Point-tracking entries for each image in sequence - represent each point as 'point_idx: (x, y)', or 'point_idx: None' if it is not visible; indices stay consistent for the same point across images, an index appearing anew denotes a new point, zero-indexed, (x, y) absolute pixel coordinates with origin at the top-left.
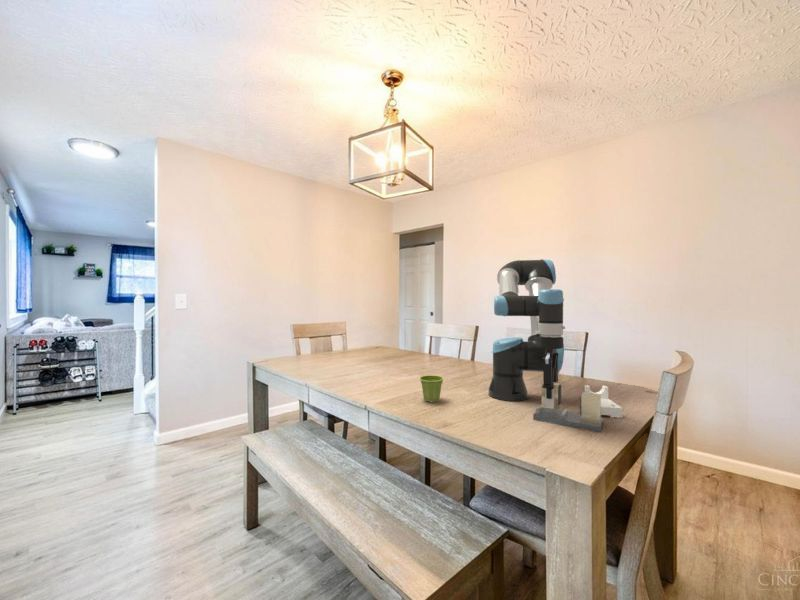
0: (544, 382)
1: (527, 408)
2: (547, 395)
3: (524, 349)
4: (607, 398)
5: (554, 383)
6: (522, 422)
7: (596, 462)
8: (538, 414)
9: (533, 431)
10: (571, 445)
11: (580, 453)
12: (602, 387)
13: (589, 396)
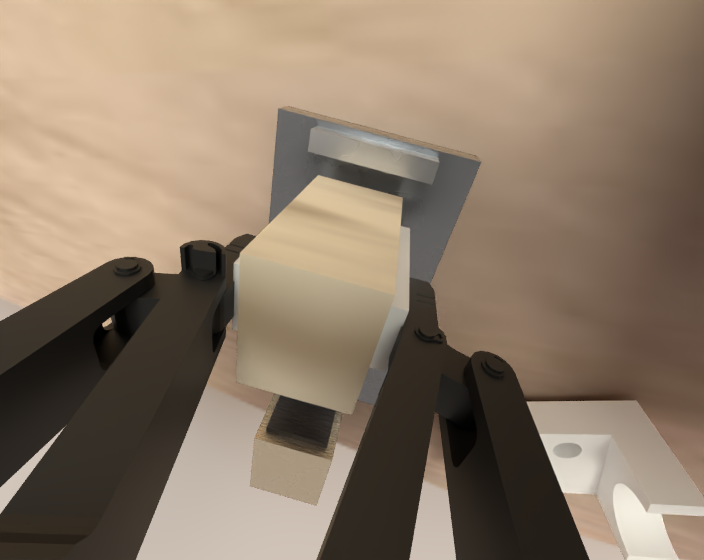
0: (69, 294)
1: (521, 56)
2: (230, 251)
3: None
4: (597, 492)
5: (297, 370)
6: (203, 31)
7: (26, 295)
8: (300, 144)
9: (112, 108)
10: (85, 252)
11: (47, 268)
12: (666, 545)
13: (254, 459)
